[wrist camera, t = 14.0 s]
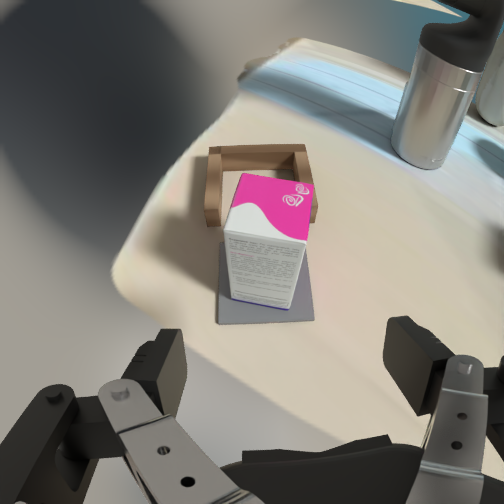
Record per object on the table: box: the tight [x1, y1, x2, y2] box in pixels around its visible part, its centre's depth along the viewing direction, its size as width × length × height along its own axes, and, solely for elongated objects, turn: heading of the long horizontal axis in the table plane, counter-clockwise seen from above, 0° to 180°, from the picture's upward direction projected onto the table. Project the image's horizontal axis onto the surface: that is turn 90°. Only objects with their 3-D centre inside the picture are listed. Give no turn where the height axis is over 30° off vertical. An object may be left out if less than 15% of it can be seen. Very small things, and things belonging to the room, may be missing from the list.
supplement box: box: [223, 173, 314, 311], centre depth 27 cm, size 6×6×11 cm
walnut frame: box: [204, 144, 318, 227], centre depth 38 cm, size 10×12×3 cm
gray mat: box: [218, 242, 314, 325], centre depth 32 cm, size 9×9×1 cm
